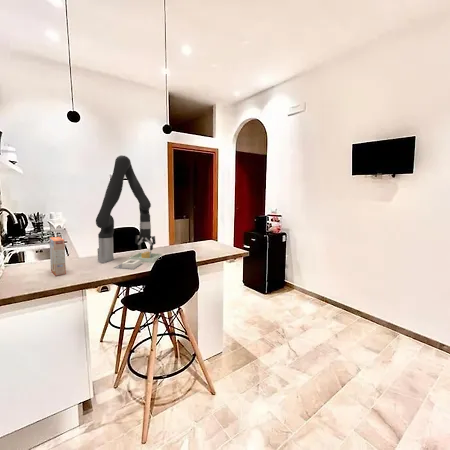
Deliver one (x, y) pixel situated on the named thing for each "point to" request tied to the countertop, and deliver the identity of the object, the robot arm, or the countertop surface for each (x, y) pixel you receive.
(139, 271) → the countertop surface
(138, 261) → the block
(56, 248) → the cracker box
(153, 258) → the parts tray
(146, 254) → the fuse
